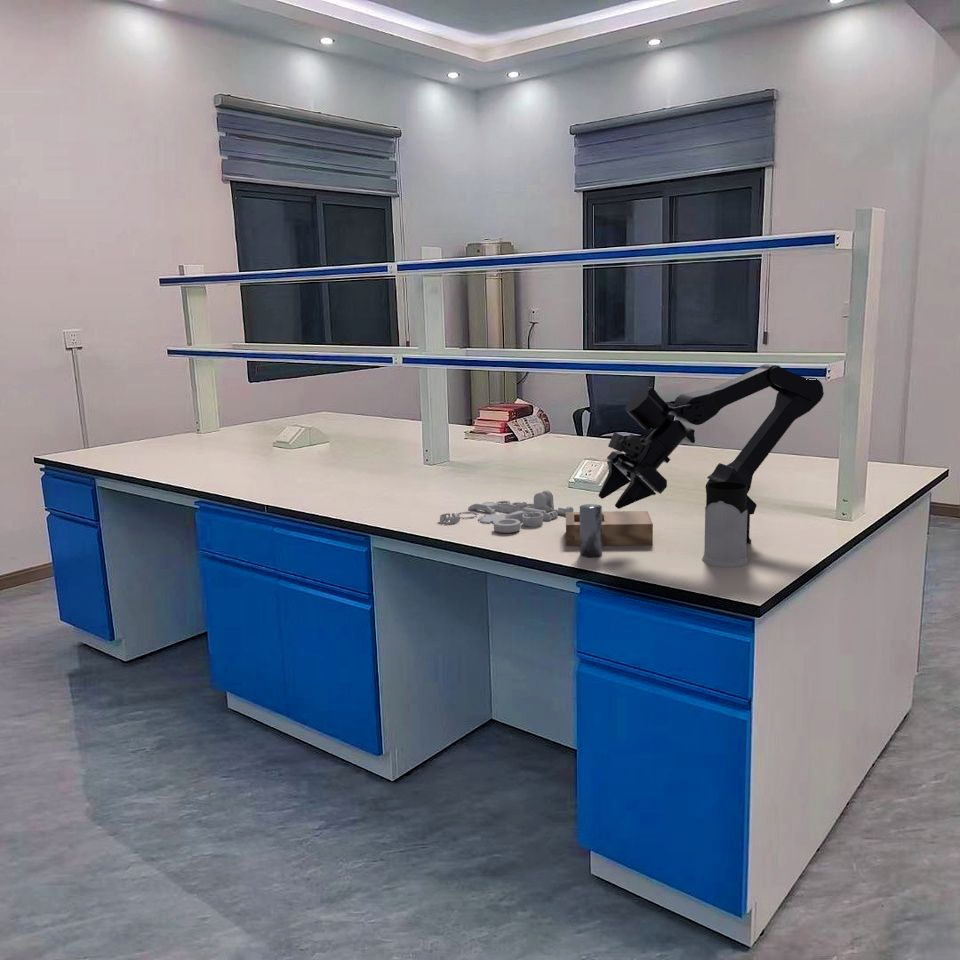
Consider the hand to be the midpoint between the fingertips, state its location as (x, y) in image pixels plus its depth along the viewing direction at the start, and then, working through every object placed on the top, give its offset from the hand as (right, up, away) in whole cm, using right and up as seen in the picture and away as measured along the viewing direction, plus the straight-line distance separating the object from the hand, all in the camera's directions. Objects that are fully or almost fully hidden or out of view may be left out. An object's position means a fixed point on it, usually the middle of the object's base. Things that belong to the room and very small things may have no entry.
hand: (608, 502), depth 174 cm
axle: (-3, -11, +1) cm, 11 cm away
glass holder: (+23, -11, -3) cm, 26 cm away
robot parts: (-20, -5, +34) cm, 40 cm away
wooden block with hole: (+2, -8, +13) cm, 15 cm away
